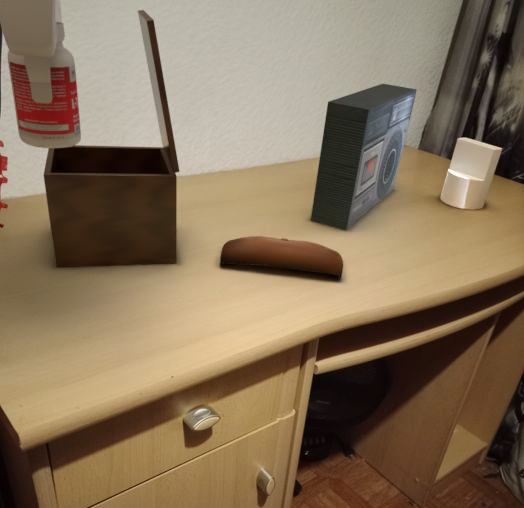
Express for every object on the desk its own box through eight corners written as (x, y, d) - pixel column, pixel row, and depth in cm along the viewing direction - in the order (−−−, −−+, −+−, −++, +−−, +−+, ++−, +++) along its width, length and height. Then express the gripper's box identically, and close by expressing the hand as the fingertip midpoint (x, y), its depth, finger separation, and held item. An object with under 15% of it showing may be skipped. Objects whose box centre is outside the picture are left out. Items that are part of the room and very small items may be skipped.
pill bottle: (87, 148, 57) (78, 27, 50) (25, 151, 54) (7, 22, 48) (73, 133, 61) (63, 19, 55) (15, 134, 58) (-3, 14, 52)
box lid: (146, 20, 61) (153, 19, 61) (137, 10, 72) (143, 9, 72) (173, 173, 72) (179, 172, 72) (162, 144, 82) (167, 143, 82)
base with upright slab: (431, 197, 115) (447, 139, 109) (456, 192, 120) (473, 136, 114) (467, 212, 110) (486, 151, 103) (491, 205, 115) (511, 147, 108)
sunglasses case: (339, 254, 86) (346, 228, 80) (336, 292, 83) (344, 268, 77) (226, 241, 86) (225, 215, 80) (220, 279, 83) (218, 254, 77)
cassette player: (346, 230, 96) (369, 109, 84) (310, 220, 98) (328, 101, 87) (393, 189, 118) (416, 89, 106) (363, 182, 120) (382, 83, 109)
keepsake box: (56, 267, 75) (43, 174, 68) (59, 228, 86) (49, 144, 78) (176, 263, 79) (176, 176, 72) (165, 226, 90) (165, 147, 83)
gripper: (0, -81, 54) (21, 72, 62) (-35, -92, 38) (-1, 116, 46) (67, -72, 56) (79, 76, 64) (59, -79, 40) (77, 119, 48)
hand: (45, 93), depth 55 cm, fingers closed on pill bottle, 6 cm apart
